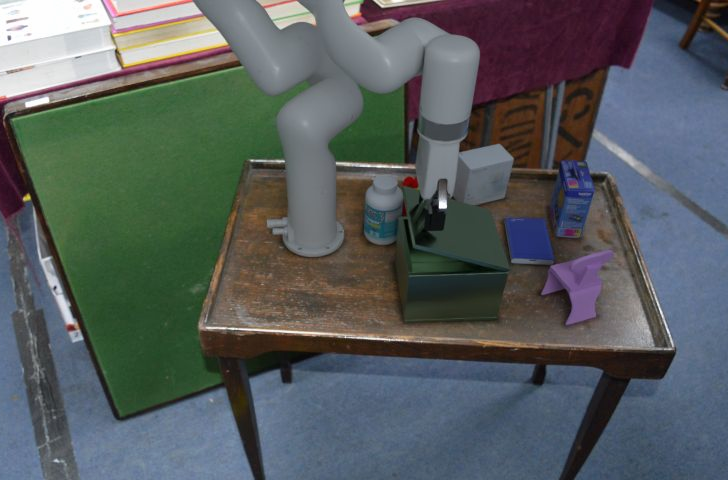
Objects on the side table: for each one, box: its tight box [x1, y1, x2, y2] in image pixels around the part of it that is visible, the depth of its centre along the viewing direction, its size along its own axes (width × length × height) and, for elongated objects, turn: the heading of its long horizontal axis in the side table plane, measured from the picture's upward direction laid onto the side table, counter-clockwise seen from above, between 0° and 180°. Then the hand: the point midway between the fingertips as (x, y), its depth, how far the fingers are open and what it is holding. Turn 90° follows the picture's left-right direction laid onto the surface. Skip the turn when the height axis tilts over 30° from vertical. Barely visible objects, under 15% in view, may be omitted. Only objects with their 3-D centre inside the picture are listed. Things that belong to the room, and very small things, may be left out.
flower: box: [400, 175, 419, 217], centre depth 137 cm, size 8×8×8 cm
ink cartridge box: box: [548, 158, 596, 239], centre depth 132 cm, size 10×6×14 cm, turn 174°
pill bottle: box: [363, 173, 403, 246], centre depth 130 cm, size 8×7×14 cm
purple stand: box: [540, 249, 615, 326], centre depth 115 cm, size 8×9×15 cm
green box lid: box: [401, 185, 511, 273], centre depth 111 cm, size 17×16×5 cm
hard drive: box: [504, 216, 556, 266], centre depth 132 cm, size 2×8×12 cm
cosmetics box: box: [452, 143, 515, 206], centre depth 140 cm, size 10×6×10 cm, turn 110°
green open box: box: [394, 216, 509, 324], centre depth 119 cm, size 17×16×12 cm
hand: (430, 215), depth 111 cm, fingers closed on green box lid, 6 cm apart
